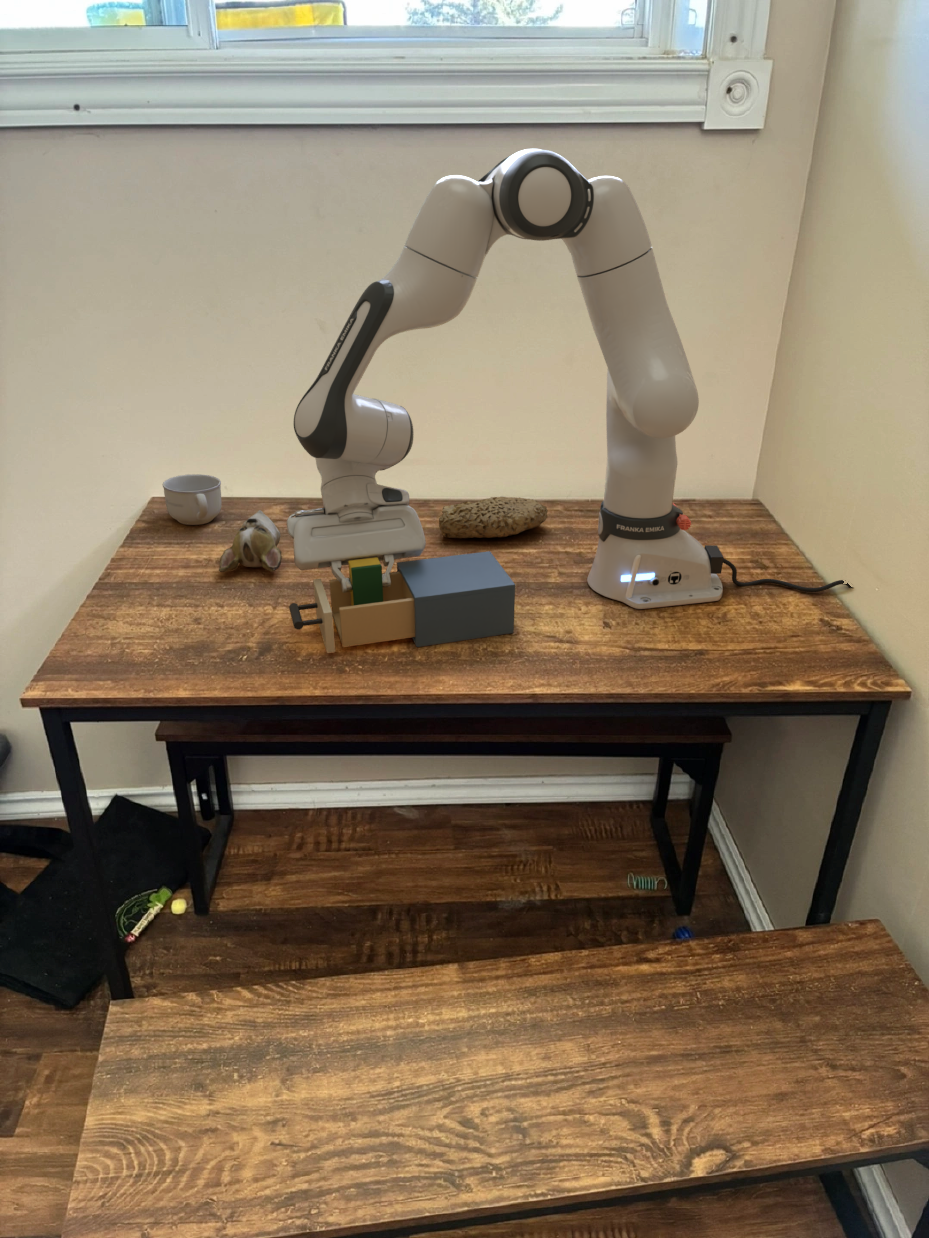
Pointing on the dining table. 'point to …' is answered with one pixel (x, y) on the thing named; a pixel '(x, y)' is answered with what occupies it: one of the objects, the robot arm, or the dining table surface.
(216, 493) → the teacup
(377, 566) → the scrub sponge
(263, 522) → the ceramic sculpture
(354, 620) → the drawer
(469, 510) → the sponge
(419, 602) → the cabinet
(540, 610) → the dining table surface
